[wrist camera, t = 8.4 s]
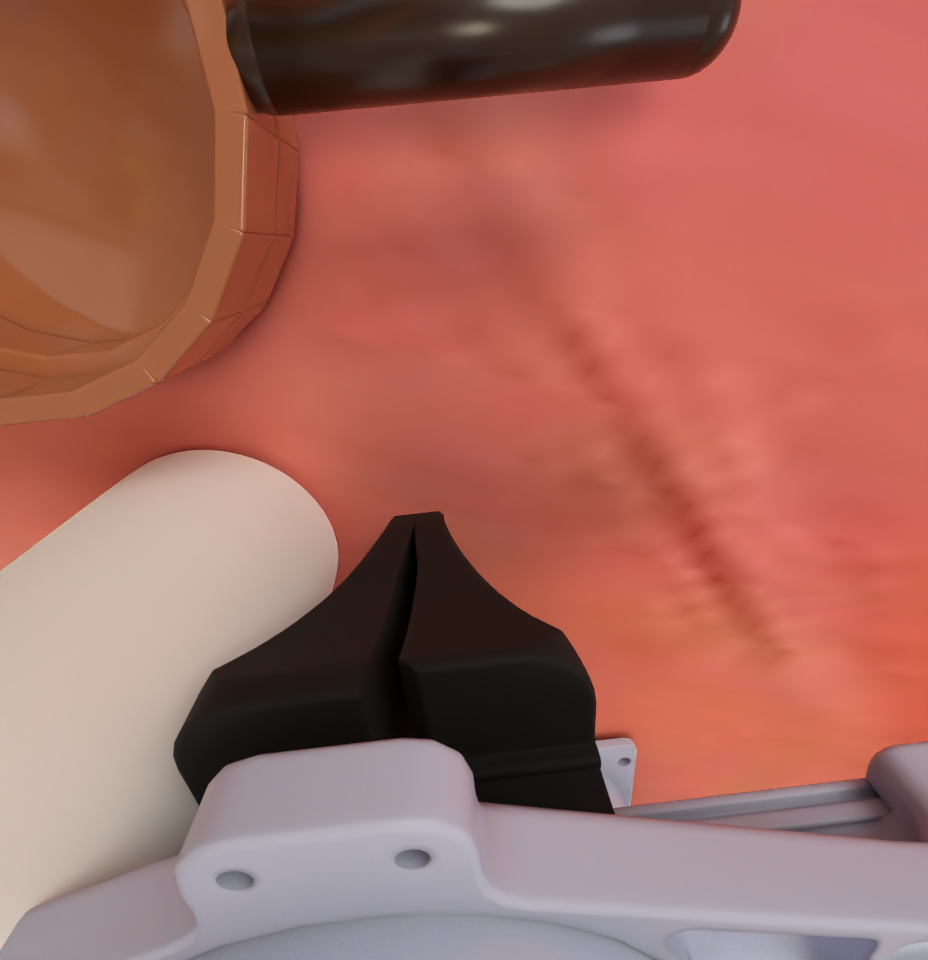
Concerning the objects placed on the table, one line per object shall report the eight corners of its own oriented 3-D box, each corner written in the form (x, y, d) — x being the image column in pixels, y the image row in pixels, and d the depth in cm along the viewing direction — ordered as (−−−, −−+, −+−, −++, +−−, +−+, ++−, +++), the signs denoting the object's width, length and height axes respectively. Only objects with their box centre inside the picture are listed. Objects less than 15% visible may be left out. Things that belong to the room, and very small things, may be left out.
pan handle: (704, 86, 8) (753, 58, 7) (249, 129, 8) (215, 107, 7) (716, -26, 8) (771, -78, 6) (224, 19, 7) (181, -27, 6)
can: (98, 586, 15) (-816, 1522, 4) (138, 403, 12) (-1945, 1533, 2) (302, 647, 16) (52, 1431, 6) (374, 496, 14) (177, 1361, 3)
